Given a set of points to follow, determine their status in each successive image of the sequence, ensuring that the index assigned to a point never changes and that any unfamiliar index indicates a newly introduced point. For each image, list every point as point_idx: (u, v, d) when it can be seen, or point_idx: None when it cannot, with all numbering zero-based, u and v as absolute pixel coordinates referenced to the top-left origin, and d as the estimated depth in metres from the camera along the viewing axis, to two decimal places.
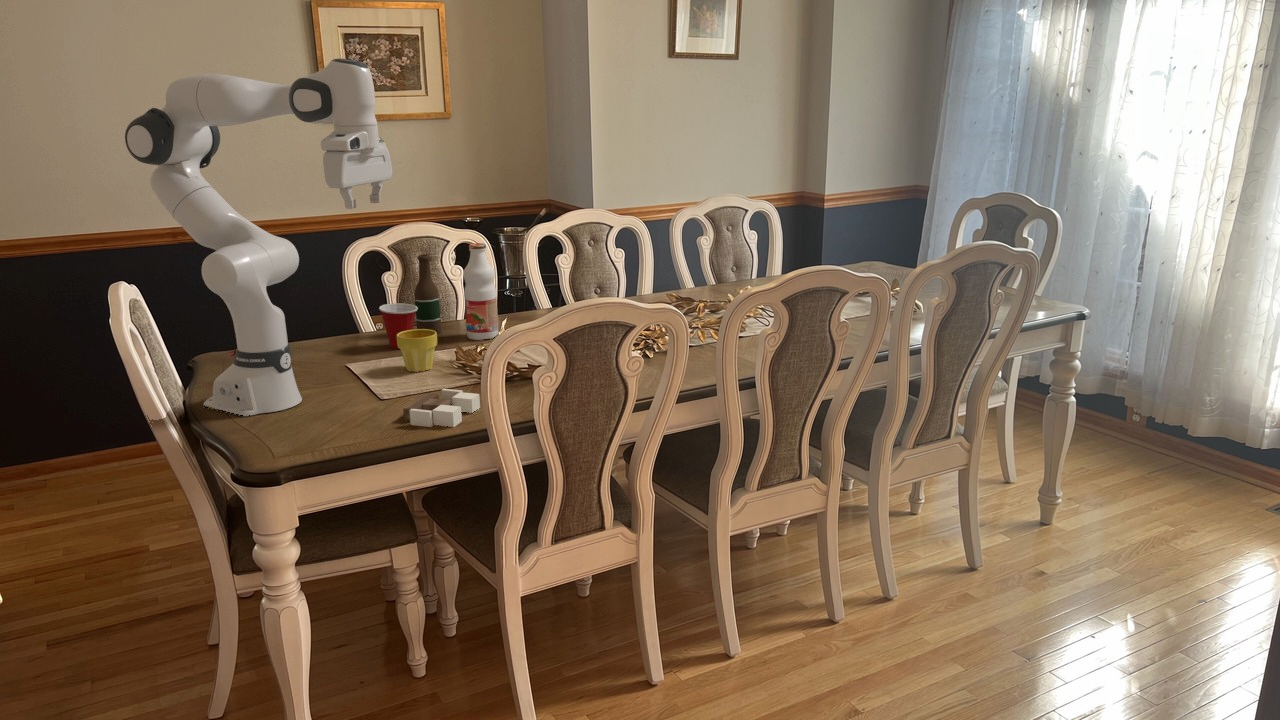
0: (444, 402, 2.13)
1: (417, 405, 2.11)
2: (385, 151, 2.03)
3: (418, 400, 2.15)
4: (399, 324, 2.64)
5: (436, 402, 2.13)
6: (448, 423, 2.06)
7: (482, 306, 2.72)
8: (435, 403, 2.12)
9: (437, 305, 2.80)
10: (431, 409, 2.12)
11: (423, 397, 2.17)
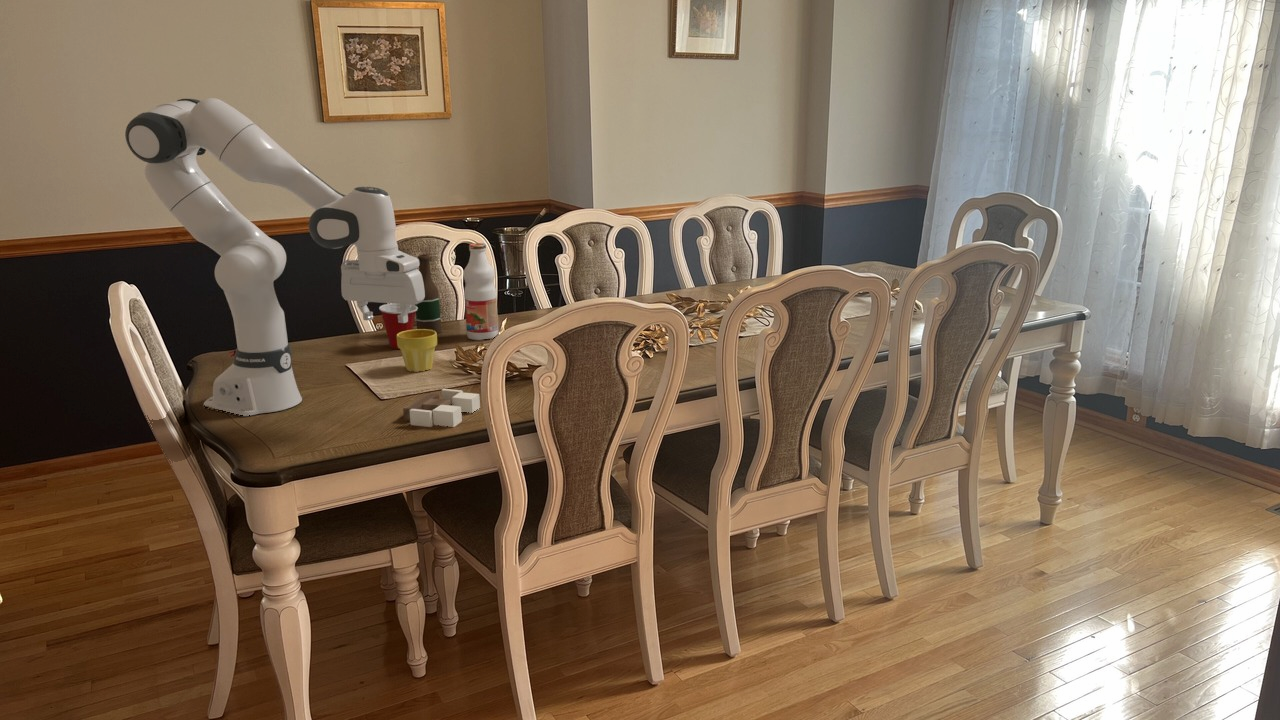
0: (444, 402, 2.13)
1: (417, 405, 2.11)
2: None
3: (418, 400, 2.15)
4: (399, 324, 2.64)
5: (436, 402, 2.13)
6: (448, 423, 2.06)
7: (482, 306, 2.72)
8: (435, 403, 2.12)
9: (437, 305, 2.80)
10: (431, 409, 2.12)
11: (423, 397, 2.17)
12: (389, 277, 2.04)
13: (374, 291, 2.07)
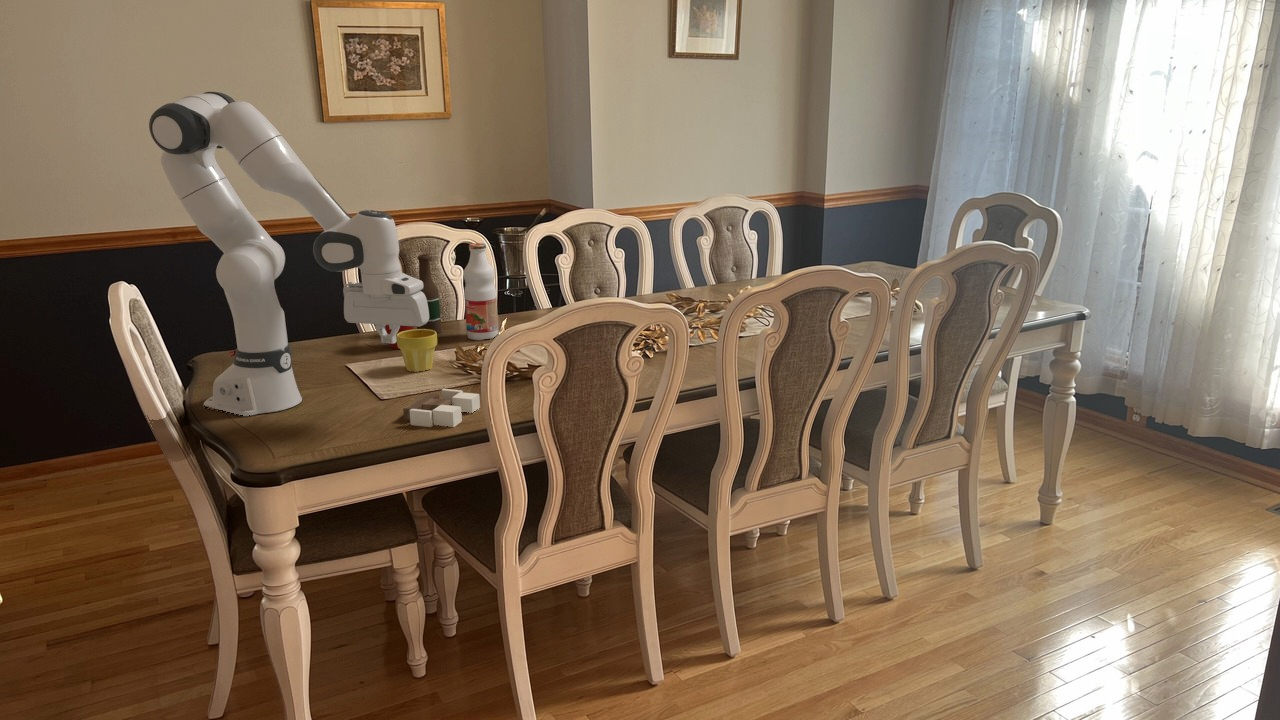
0: (444, 402, 2.13)
1: (417, 405, 2.11)
2: None
3: (418, 400, 2.15)
4: None
5: (436, 402, 2.13)
6: (448, 423, 2.06)
7: (482, 306, 2.72)
8: (435, 403, 2.12)
9: (437, 305, 2.80)
10: (431, 409, 2.12)
11: (423, 397, 2.17)
12: (394, 300, 2.06)
13: (378, 314, 2.09)
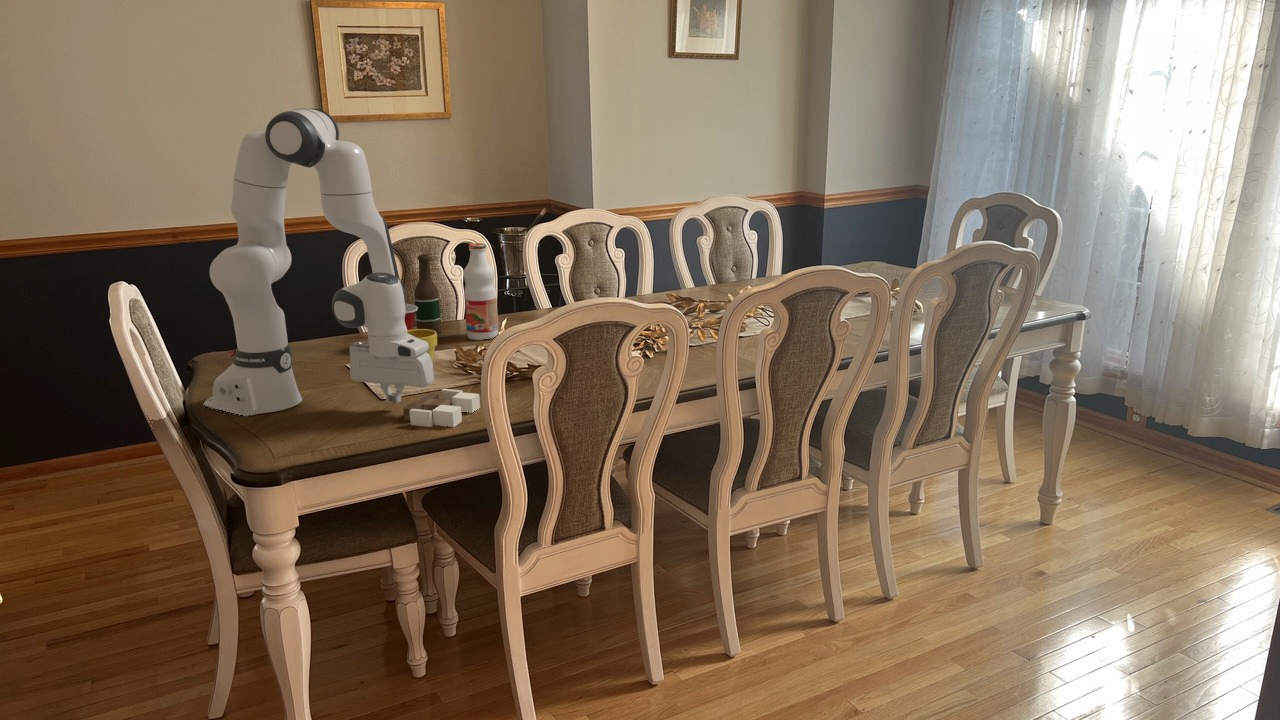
0: (444, 402, 2.13)
1: (417, 405, 2.11)
2: None
3: (418, 400, 2.15)
4: None
5: (436, 402, 2.13)
6: (448, 423, 2.06)
7: (482, 306, 2.72)
8: (435, 403, 2.12)
9: (437, 305, 2.80)
10: (431, 409, 2.12)
11: (423, 397, 2.17)
12: (399, 361, 2.11)
13: (384, 374, 2.13)
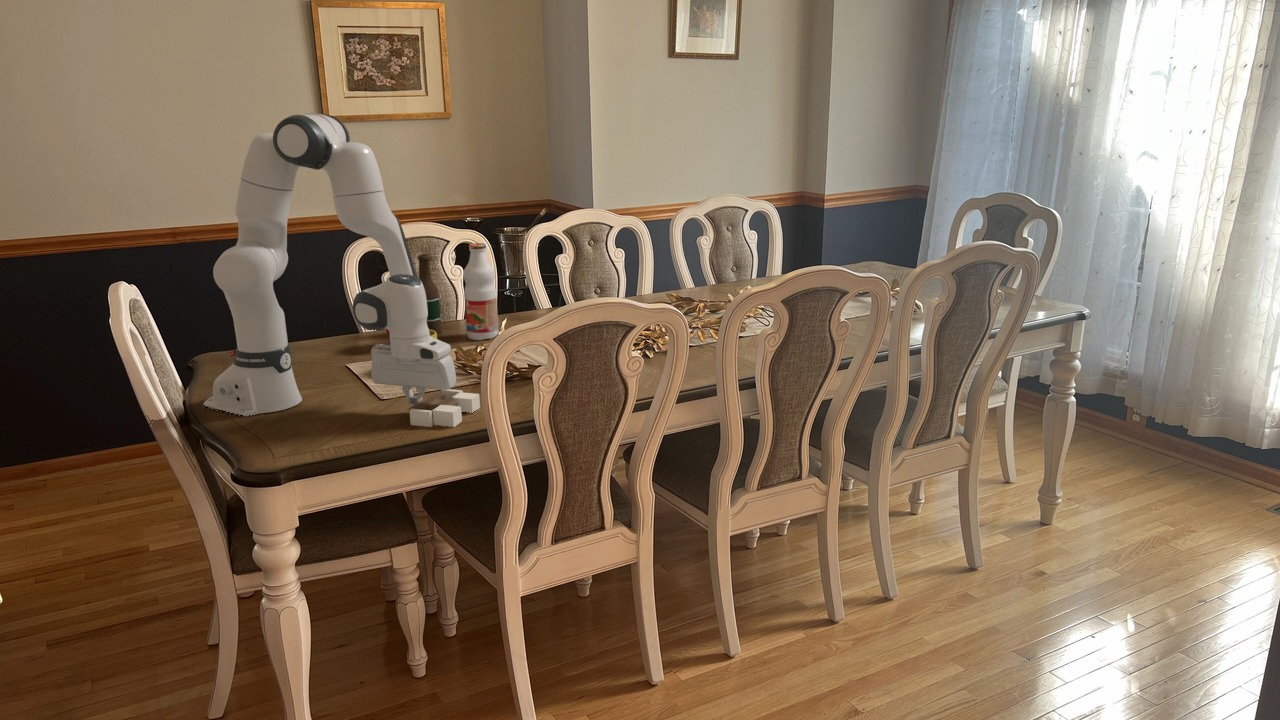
0: (450, 403, 2.12)
1: (423, 405, 2.11)
2: None
3: (424, 400, 2.14)
4: None
5: (442, 403, 2.12)
6: (448, 423, 2.06)
7: (482, 306, 2.72)
8: (441, 403, 2.12)
9: (437, 305, 2.80)
10: None
11: (429, 397, 2.16)
12: (422, 364, 2.09)
13: (406, 376, 2.11)
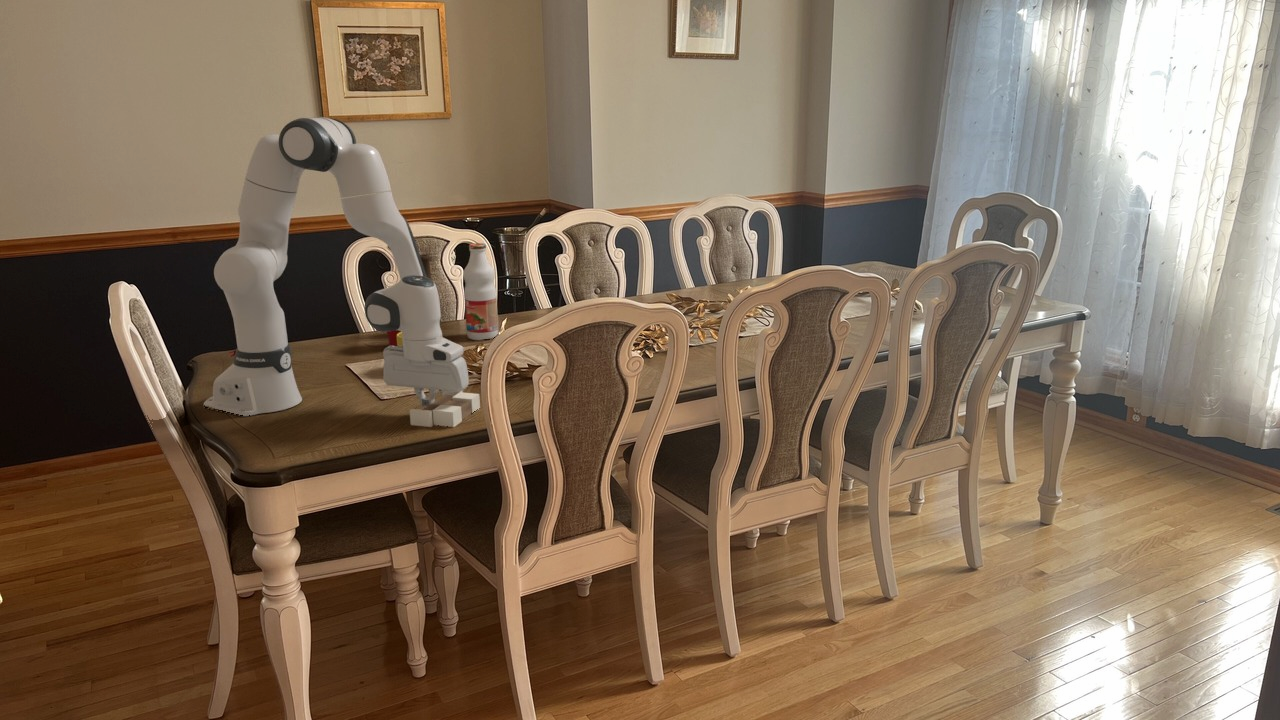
0: (463, 404, 2.11)
1: (436, 407, 2.10)
2: None
3: (437, 402, 2.13)
4: None
5: (456, 404, 2.11)
6: (448, 423, 2.06)
7: (482, 306, 2.72)
8: (454, 405, 2.11)
9: None
10: None
11: (442, 399, 2.15)
12: (434, 365, 2.08)
13: (418, 378, 2.11)
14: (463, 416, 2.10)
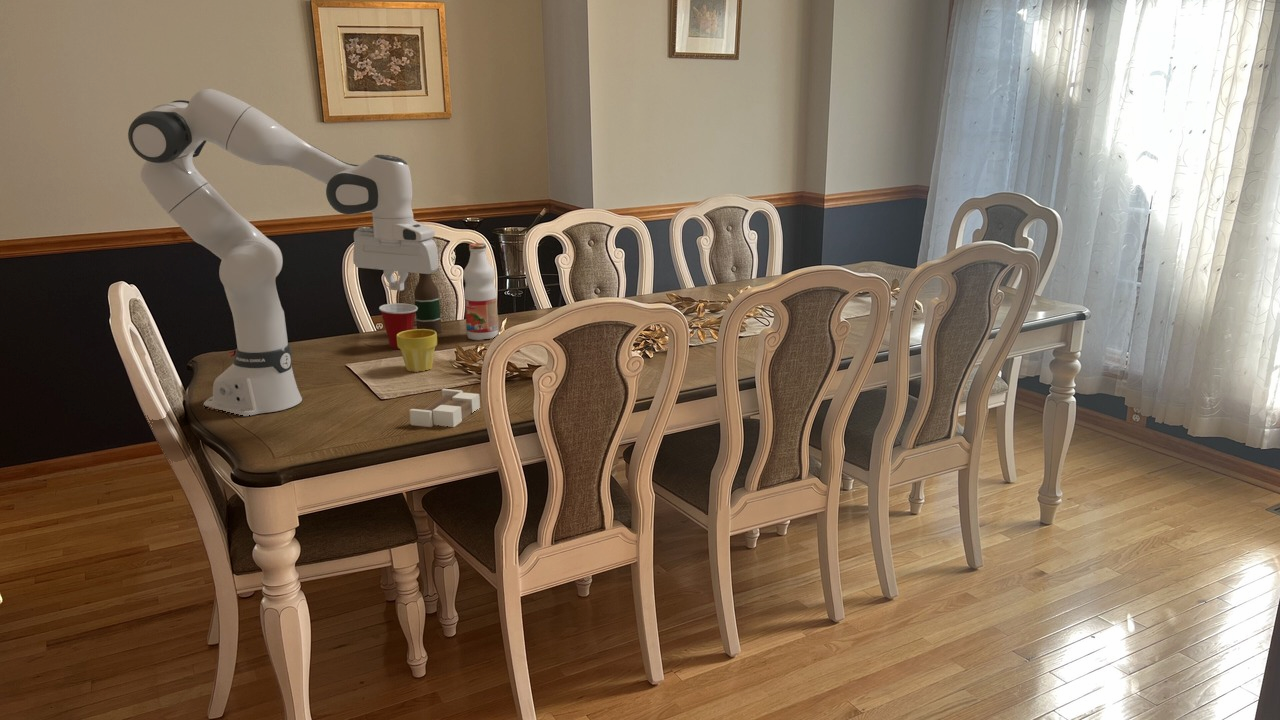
0: (463, 404, 2.11)
1: (436, 407, 2.10)
2: None
3: (437, 402, 2.13)
4: (399, 324, 2.64)
5: (455, 404, 2.11)
6: (448, 423, 2.06)
7: (482, 306, 2.72)
8: (454, 405, 2.11)
9: (437, 305, 2.80)
10: None
11: (442, 399, 2.15)
12: (404, 246, 2.06)
13: (387, 259, 2.09)
14: (463, 416, 2.10)
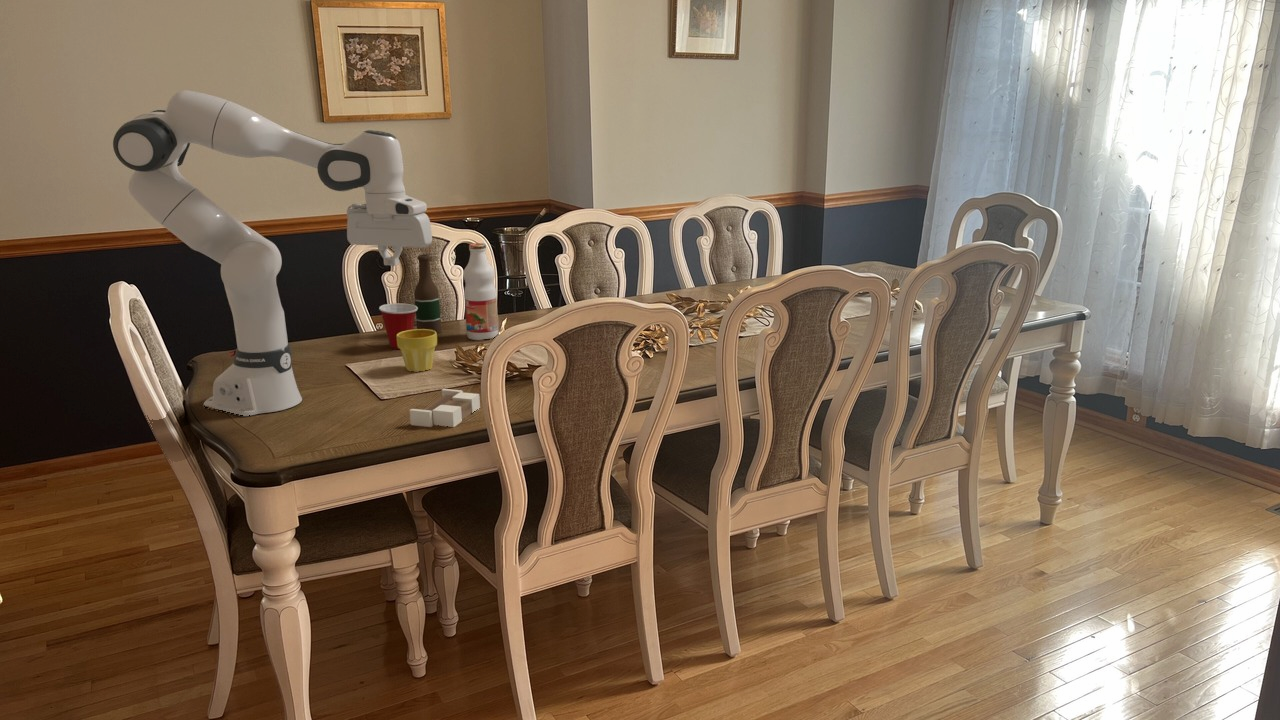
0: (463, 404, 2.11)
1: (436, 407, 2.10)
2: None
3: (437, 402, 2.13)
4: (399, 324, 2.64)
5: (455, 404, 2.11)
6: (448, 423, 2.06)
7: (482, 306, 2.72)
8: (454, 405, 2.11)
9: (437, 305, 2.80)
10: None
11: (442, 399, 2.15)
12: (397, 220, 2.07)
13: (381, 235, 2.10)
14: (463, 416, 2.10)
